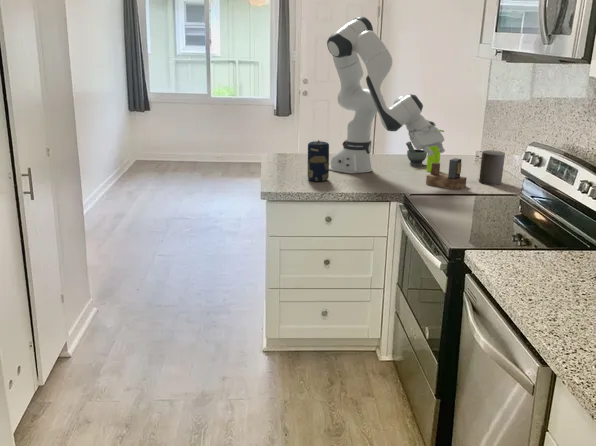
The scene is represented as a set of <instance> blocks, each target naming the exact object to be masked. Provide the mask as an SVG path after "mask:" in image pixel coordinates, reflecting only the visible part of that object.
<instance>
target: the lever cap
mask: <svg viewBox="0 0 596 446" xmlns="http://www.w3.org/2000/svg"><path fill="white" fill-rule="evenodd" d="M462 163H463V162H462V159H461V158H458V157H457V158H456V157H454V158H451V159H450V160H449V165H448V173H447V174H448V178H449V179H458V178H460V177H461V173H462Z"/></svg>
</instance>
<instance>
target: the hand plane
mask: <svg viewBox="0 0 596 446" xmlns="http://www.w3.org/2000/svg"><path fill="white" fill-rule="evenodd" d="M440 169H441V162H440V163H432V168H431V172H430V174H426V179H425V184H426V185H427V184H428V186H433V187H434V186H435V187H440V188H445V189H451V190H455V191H456V190H457V191H459V190H460V189H463V188H466V187H467V177H466V176H460V178H458V179H449V178H448V174H449V173H447V174H446V173H441V170H440Z"/></svg>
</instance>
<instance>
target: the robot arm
mask: <svg viewBox="0 0 596 446" xmlns="http://www.w3.org/2000/svg"><path fill="white" fill-rule="evenodd" d="M326 45H327V50H328V52H329V53H330V54H331V56H332V60H333V63H334V67H335V69H336V71H337V75H338V78H339V82H340V91H338V93H337V103H338V105H339V107H341V108H343V109H345V110H347V111H353V112H354V116H353V119H352V120H350V121H349V122H348V123H347V130H346V131H347V135H346V139H345V140H344V141H343V142H342V144H341V145H342V146H343V147H342V148H341V149H340V150H338V151H337V152H336V153H334V154H333V155H332V157H331V160H330V162H329V171H332V172H340V173H345V174H359V173H360V174H362V173H368V172H371V171H373V166H372V161H371V152H372V141H371V134H372V133H371V132H372V123H373V121H374V118H375V116H376V115H377V113H378V115H379V118H380V122H381V125H382V126H383V128H384V129H386V131H388V132H397V131H399V130H400V129H401V128H402V127H403V126H404V125H405V127H406V129H407V131H408V137H409V140H410V141H411V144H412V146H413V148H414V149H416V150H424V151H425V152H426V153H427V155H428V154H429V156H432V155H434V152H433V151H431V150H430V149H429V148H428V147H432V146H437V147H438V148H439V152H440V154H443V153H444V152H446V149H445V148H444V145H443V142H445V137H444V135H443V133H442V132H440V131H439V130H440V129H439V128H438V127H436V123H435V122H434V121H430V120H428V119H426V118H425V117H424V116H423V115H422V114H421V113H422V112H423V108H424V105H423V103H422V102H421V100H420V99H419V98H418V96H417V95H416V94H411V93H409V94H407V95H401V96H399V97H398V98H396V100H395V101H394V102H393V104H392V105H390V106H389V107H387V104H386V102H385V99H384V96H383V93H382V92H381V87H382V84H383V82H384V80H385V79H386V78H387V76H388V74H389V73H390V71H391V70H392V68H393V67H392V66H393V57H392V55H391V52H390V51H389V50H388V48H387V47H386V45H385V44H384V42H383V41H382V39H381V38H380V37H379V36H378V35H377V34H376V33H375V31H374V28H373V25H372V22H371V21H370V20H369V19H368V18H367V17H366V16H359V17H356V18H353V20H351V21H348V22H347V23H346V24H344V25H342V26H341V27H340V28H339V29H337V30H336V31H334V33H332V34H331V35H330V36H329V38H328V39H327V41H326ZM359 57H360V58H359ZM360 59H361V60H362V61H363V64H364V65H365V68H366V71H367V75H366V77H365V82H366V85H367V88H366V87H362V85H361V80H362V78H363V77H364V70H363V67H362V64H361V60H360Z"/></svg>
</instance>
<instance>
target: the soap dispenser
mask: <svg viewBox="0 0 596 446" xmlns="http://www.w3.org/2000/svg"><path fill="white" fill-rule="evenodd" d="M438 130H439V131H440V132H441V133H444V132H445V130H443V129H438ZM428 148H429V149H430V150H431V151H433V152H434V155H432V156H429V154H428V153H427V156H426V158H427V159H426V172H427V173H431V168H432V163H440V164H441V153H440V152H439V148H438V147H437V146H432V147H428Z"/></svg>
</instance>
